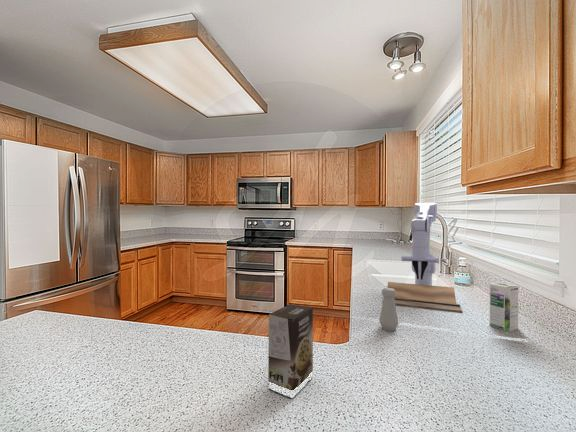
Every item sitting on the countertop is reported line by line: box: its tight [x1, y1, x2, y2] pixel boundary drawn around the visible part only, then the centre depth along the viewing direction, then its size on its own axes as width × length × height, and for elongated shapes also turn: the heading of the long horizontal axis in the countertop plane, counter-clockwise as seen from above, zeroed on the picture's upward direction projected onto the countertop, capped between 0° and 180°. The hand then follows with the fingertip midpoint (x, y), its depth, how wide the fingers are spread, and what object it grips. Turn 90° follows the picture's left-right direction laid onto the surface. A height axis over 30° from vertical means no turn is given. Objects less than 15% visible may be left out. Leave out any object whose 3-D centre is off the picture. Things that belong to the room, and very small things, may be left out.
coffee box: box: [267, 303, 314, 390], centre depth 63 cm, size 9×6×16 cm
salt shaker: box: [378, 287, 399, 332], centre depth 93 cm, size 6×6×13 cm
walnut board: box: [382, 298, 463, 314], centre depth 114 cm, size 6×28×2 cm, turn 67°
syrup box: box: [488, 282, 519, 332], centre depth 93 cm, size 6×6×14 cm
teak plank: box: [386, 281, 457, 304], centre depth 122 cm, size 10×26×2 cm, turn 67°
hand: (419, 278), depth 123 cm, fingers closed
